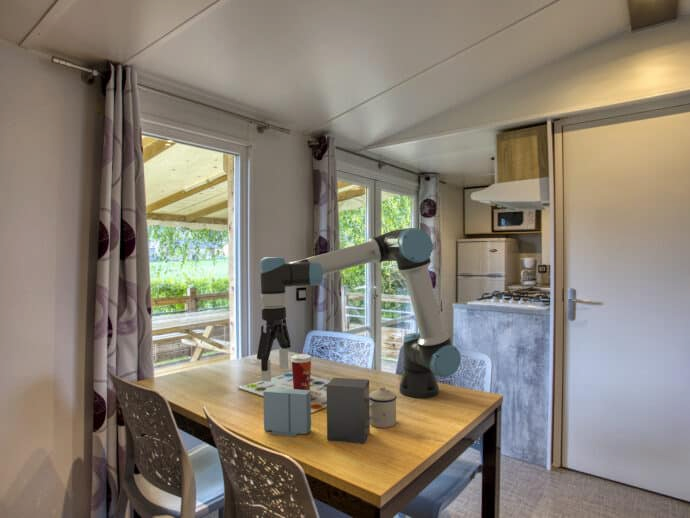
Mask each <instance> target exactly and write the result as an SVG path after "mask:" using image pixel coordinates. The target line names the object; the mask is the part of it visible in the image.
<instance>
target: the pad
mask: <svg viewBox="0 0 690 518" xmlns="http://www.w3.org/2000/svg"><path fill="white" fill-rule="evenodd" d="M298 434H299V433H290V432H280V431H271V432H270V436H271V435H272V436H281V437H291V438H292V437H293V438H296V437H297V435H298Z"/></svg>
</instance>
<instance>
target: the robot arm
mask: <svg viewBox="0 0 690 518" xmlns="http://www.w3.org/2000/svg"><path fill="white" fill-rule="evenodd" d="M433 250H434V244H433V240H432V238H431V235H429V234H428V233H427V232H426V231H424V230H423V229H422V228H417V227H406V228H401V229H393V230H391V231H389V232H388V231H387V232H386V233H383V234H381V235H378V236H374V237H371V238H369V239H368V241H366V242H362V243H359V244H355V245H351V246H348V247H344V248H339V249H336V250H333V251H329V252H326V253H321V254H318V255H314V256H310V257H307V258H302V259H300V260H296V261H293V260H292V261H289V262H286V259H285V258H284V257H283V256H279V257H278V256H277V257H276V256H274V257H272V256H270V257H269V256H268V257H263V258H262V259H261V260H260V272H259V273H260V294H261V295H260V297H259V298H260V300H261V306H262V308H261V319H262V321H266V324H265V325H261V327H260V337H259V343H258V349H257V353H256V360H258V361H259V360H260V373H261V377H260V378H261V382H271V381H272V369H271V368H272V367H271V365H272V364H271V363H272V361H271V358H270V355H271V351H272V348H273V346H274V345H273V344H274V341H275V340H276V341H277V342H278V345H279V347H280V348H279V349H278V353H279V354H278V355H279V358H278V359H279V369H285V370H288V369H289V350H288V349H291V347H292V346H291V339H290V335H289V331H288V326H287V319H286V318H287V308H286V305H287V296H286V295H287V294H286V287H287V288H290V287H314V286H319V285H321V284H322V282H323V280H324V279H323V278H324V276H327V275H330V274H334V273H337V272H341V271H345V270H348V269H351V268H355V267H359V266H361V265H366V264H370V263H375V264H379V263H383V262H396V264H397V269H398V272H399V271H400V272H401V273H403V274H404V277H405V282H406V285H407V286H406V287H407V290H408V294H409V297H410V300H411V305H412V308H413V312H414V317H415V321H416V325H417V328H418V331H419V332H410V333H406V334H405V335H404V336H403V342H402V344H403V374H402V376H401V380H400V383H399V393H400V394H401V395H403V396H407V397H409V398H410V397H411V398H416V399H417V398H418V399H425V398H433V397H436V396H437V395H439V391H440V390H439V389H440V388H439V387H440V386H439V384H438V380H437V378H436V376H437V377H441V378H448V377H451V376H452V375H454V374H455V373H456V372H457V370H458V369H459V367H460V365H461V361H462V355H461V352H460V350H459V349H458V348H457V347H456V346H455V345H453V343H452V339H451V335H450V334H449V333H448V332H446V331H445V329H444V325H443V321H442V318H441V313H440V311H439V306H438V302H437V298H436V295H435V290H434V286H433V282H432V279H431V275H430V271H429V266H430V265H431V263H432V261H431V256H432V252H433Z"/></svg>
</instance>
